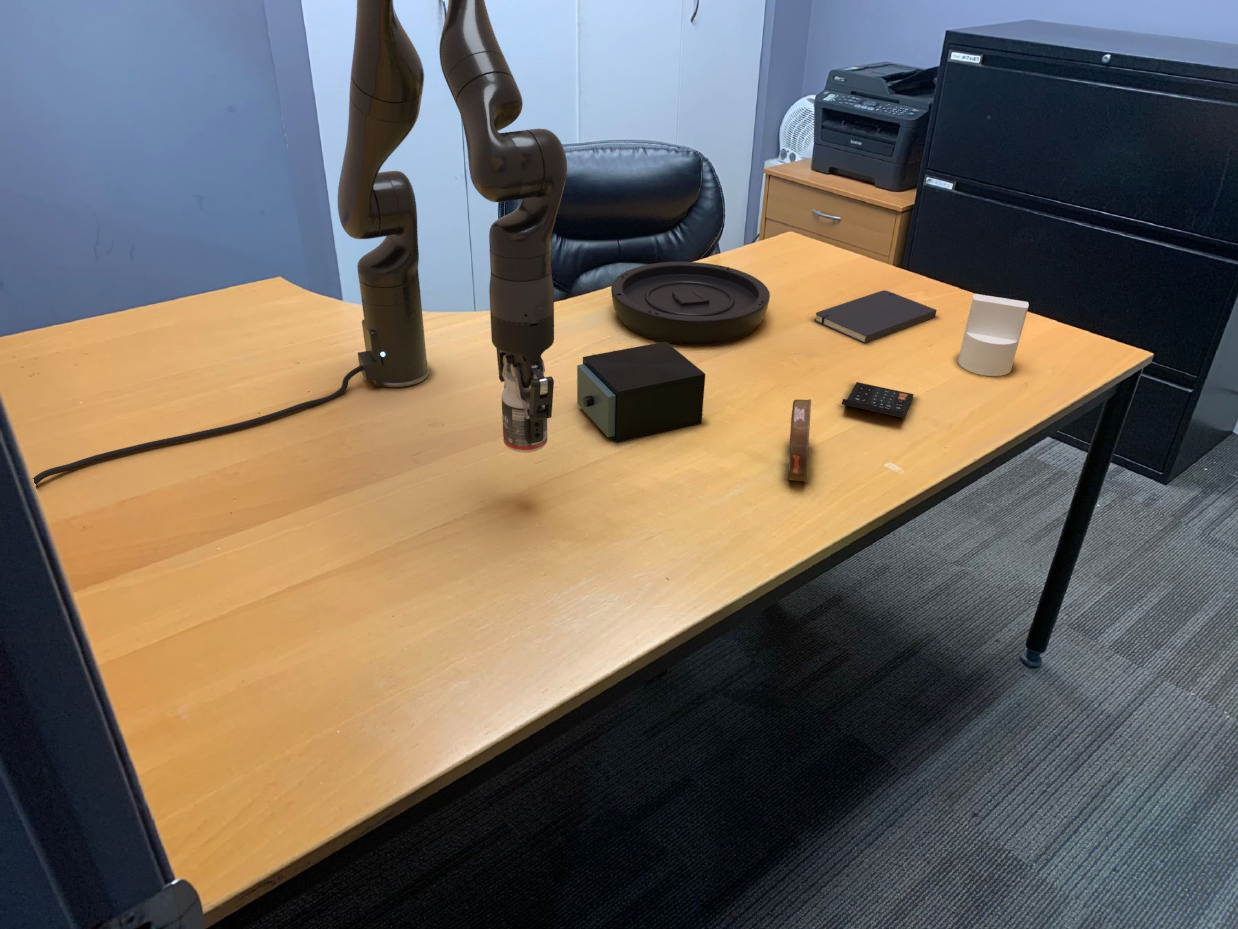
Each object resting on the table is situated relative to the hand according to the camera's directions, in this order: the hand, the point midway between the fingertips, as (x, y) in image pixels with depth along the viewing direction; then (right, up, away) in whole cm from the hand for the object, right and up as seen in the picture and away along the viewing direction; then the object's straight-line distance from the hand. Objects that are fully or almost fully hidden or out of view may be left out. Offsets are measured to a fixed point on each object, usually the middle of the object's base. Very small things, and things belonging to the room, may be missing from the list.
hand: (525, 428), depth 119 cm
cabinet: (+15, +3, +27) cm, 31 cm away
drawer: (+13, +4, +26) cm, 29 cm away
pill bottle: (0, -2, +1) cm, 2 cm away
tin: (+38, -5, +16) cm, 41 cm away
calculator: (+53, +4, +31) cm, 62 cm away
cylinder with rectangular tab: (+77, +13, +46) cm, 90 cm away
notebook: (+62, +24, +62) cm, 90 cm away
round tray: (+25, +24, +61) cm, 70 cm away
